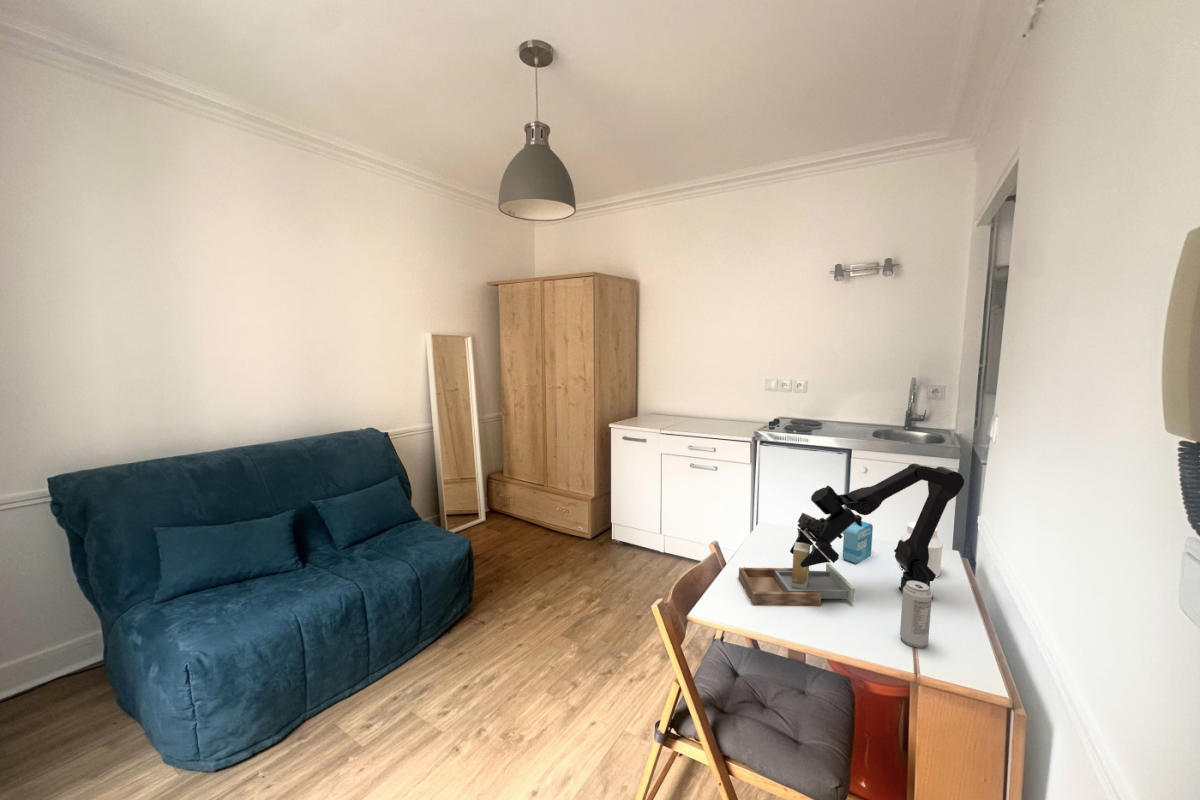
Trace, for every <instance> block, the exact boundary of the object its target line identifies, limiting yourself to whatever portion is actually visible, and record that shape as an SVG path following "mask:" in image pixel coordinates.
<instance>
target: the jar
mask: <svg viewBox="0 0 1200 800" xmlns="http://www.w3.org/2000/svg"><path fill="white" fill-rule="evenodd" d="M916 522H917V521H912V522H908V523H907V527H906V528H907V529H906V530H905V532H904V533H903V534H901V536H900V540H902V541H906V540H907V539H909V538H910V536H911V534H912V531H913V529H914V527H915V525H916ZM943 546H944V544H943V542H942V541H941V540H940V538H939V536H938V528H937V527H936V530H935V532H934V534H933V536H932V539H931V541H930V543H929V546H928V550H929V561H928V565H927V566H928V567H929V568H930V569H931V570H932V571H933V572H934V573H935V574H936V576H939V575H940V576H941V574H940V573H941V572H942V571H941V565H942V551H943ZM899 566H900V564H899V563H898V567H899ZM900 567H901V566H900ZM900 567H899V568H900ZM936 576H935V577H936ZM940 576H939V577H940ZM936 578H937V577H936Z"/></svg>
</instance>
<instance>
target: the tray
mask: <svg viewBox="0 0 1200 800" xmlns="http://www.w3.org/2000/svg"><path fill="white" fill-rule="evenodd" d="M825 564H826V565H825V570H809V579H808V588H807V590H802V589H797V588H793V587H792V573H793V571H774V578H775V579H776V581H777V582H778V583H779V585H780V586H781V588H782V589H783V591H784V592H820V593H821V599H839V600H841V599H844V600H845V599H847V600H848V601H849V602H850V603H854V602H855V594H856V593H855V592H856V588H855V587H854V586H853V585H852V584H851V583H850V582H849V581H848V580H847V579H846V578H845V577H844V576H843V575H842V574H841V573H840V572H839V571H838V570H837V569H836V568H835V567H834V566H833V564H831V562H830V563H828V562H826V563H825Z"/></svg>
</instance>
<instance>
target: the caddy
mask: <svg viewBox="0 0 1200 800" xmlns="http://www.w3.org/2000/svg"><path fill="white" fill-rule="evenodd" d="M774 571H793V567H738V580H739V581H740V583H741V585H742V587H743V588H744V591H745V593H746V592H747V593H746V594H747V596H748V598H749V600H750V602H751V604H752V603H753V604H752V605H753V606H792V607H793V606H796V607H797V606H798V607H799V606H806V607H807V606H808V607H810V606H811V607H816V606H818V607H822V604H821V603H822V598H821V593H820V592H784V591H783V589H782V588H781V586H780V585H779V583H778V582H777V581H776V579H775V578H774Z"/></svg>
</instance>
